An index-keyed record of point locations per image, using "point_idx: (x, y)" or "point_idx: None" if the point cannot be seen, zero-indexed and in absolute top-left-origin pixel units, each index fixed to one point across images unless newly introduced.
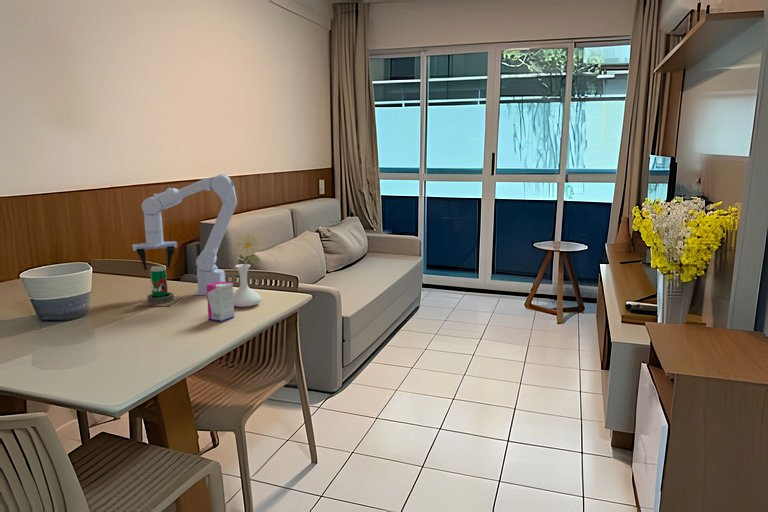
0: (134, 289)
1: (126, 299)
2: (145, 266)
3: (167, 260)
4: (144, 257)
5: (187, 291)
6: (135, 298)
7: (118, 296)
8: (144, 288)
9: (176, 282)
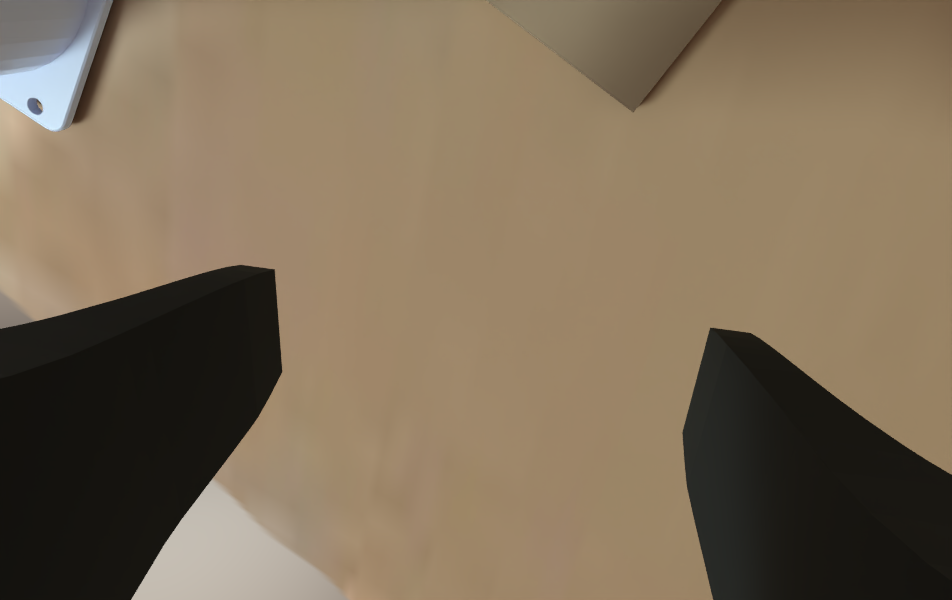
0: (682, 530)
1: (920, 198)
2: (761, 356)
3: (176, 373)
4: (900, 504)
5: (221, 159)
6: (812, 183)
7: (928, 377)
8: (590, 511)
9: (292, 535)
